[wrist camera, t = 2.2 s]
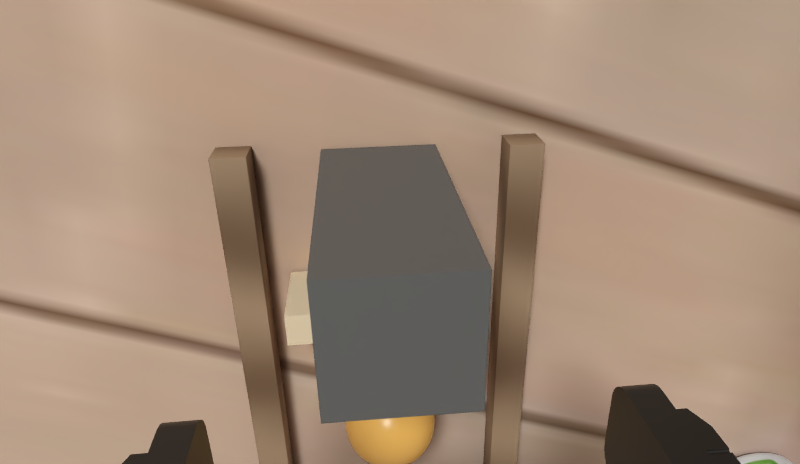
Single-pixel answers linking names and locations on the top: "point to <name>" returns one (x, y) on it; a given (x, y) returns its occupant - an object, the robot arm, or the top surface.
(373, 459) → the ball
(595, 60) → the top surface
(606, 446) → the robot arm
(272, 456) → the lane
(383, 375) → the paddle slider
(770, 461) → the supplement bottle
